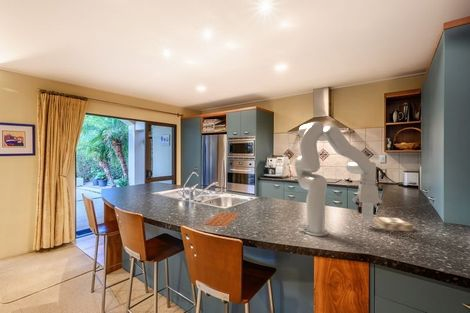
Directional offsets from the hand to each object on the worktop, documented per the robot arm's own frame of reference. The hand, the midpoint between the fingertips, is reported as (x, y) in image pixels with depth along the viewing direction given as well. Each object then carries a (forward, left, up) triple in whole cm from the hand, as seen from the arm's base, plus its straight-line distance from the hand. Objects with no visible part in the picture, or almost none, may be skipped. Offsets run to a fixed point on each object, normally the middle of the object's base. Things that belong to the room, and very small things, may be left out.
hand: (366, 213), depth 129 cm
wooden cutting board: (-86, +4, -9) cm, 87 cm away
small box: (0, 0, -4) cm, 4 cm away
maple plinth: (+16, +4, -8) cm, 19 cm away
